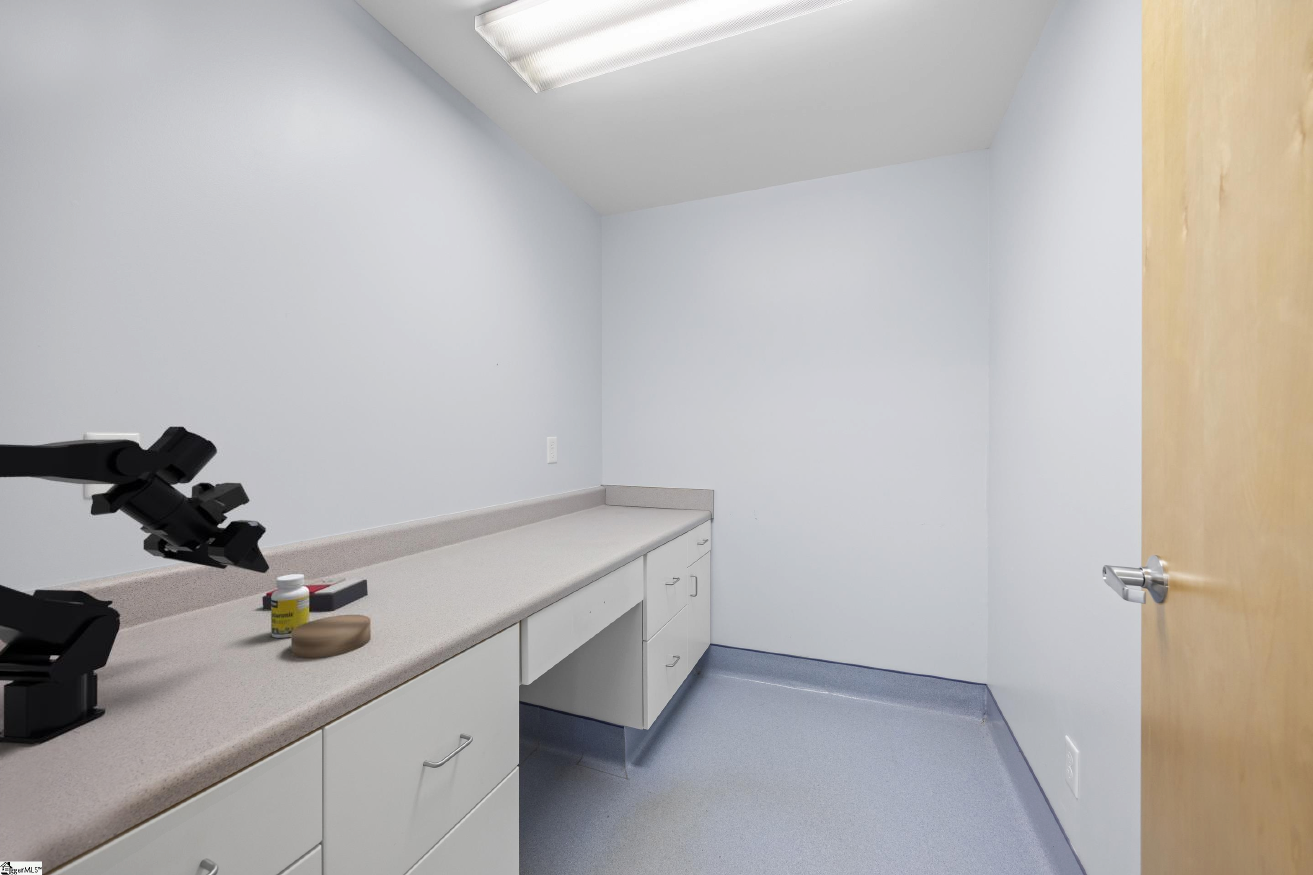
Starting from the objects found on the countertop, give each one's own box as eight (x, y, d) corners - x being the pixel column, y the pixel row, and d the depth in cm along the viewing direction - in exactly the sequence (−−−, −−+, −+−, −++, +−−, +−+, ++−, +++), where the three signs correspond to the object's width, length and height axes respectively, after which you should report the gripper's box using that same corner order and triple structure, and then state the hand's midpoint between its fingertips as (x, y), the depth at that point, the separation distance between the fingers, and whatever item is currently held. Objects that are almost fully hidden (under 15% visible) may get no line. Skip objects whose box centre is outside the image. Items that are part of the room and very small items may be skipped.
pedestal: (339, 659, 78) (339, 639, 78) (273, 656, 80) (273, 637, 80) (384, 632, 89) (384, 615, 89) (326, 630, 91) (326, 613, 91)
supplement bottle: (262, 638, 87) (262, 580, 87) (289, 626, 93) (289, 572, 93) (291, 639, 87) (291, 581, 87) (316, 628, 92) (316, 573, 92)
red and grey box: (303, 578, 113) (367, 575, 112) (304, 597, 113) (368, 595, 112) (260, 592, 102) (331, 590, 101) (261, 614, 102) (333, 612, 101)
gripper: (252, 466, 75) (322, 529, 85) (167, 465, 81) (243, 524, 91) (188, 530, 68) (274, 590, 78) (100, 523, 73) (191, 580, 84)
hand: (246, 568), depth 83 cm, fingers open, 9 cm apart
